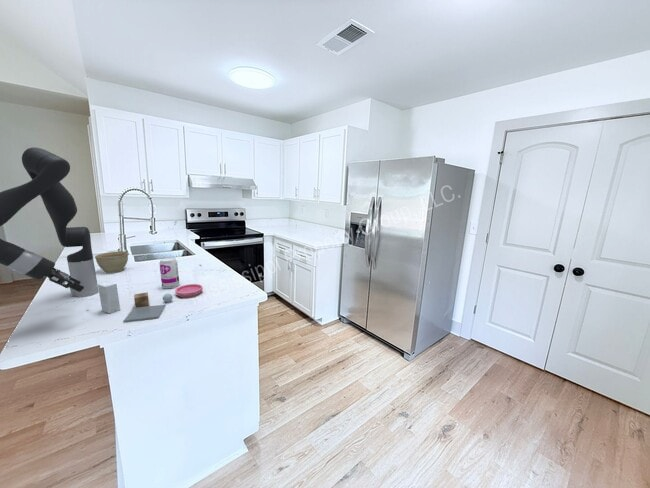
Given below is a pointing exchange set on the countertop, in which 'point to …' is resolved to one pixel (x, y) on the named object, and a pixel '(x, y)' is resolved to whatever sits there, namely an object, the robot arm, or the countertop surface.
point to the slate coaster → (145, 313)
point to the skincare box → (109, 297)
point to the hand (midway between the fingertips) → (80, 286)
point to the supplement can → (169, 272)
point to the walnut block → (141, 300)
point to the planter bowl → (112, 261)
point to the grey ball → (167, 297)
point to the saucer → (189, 290)
